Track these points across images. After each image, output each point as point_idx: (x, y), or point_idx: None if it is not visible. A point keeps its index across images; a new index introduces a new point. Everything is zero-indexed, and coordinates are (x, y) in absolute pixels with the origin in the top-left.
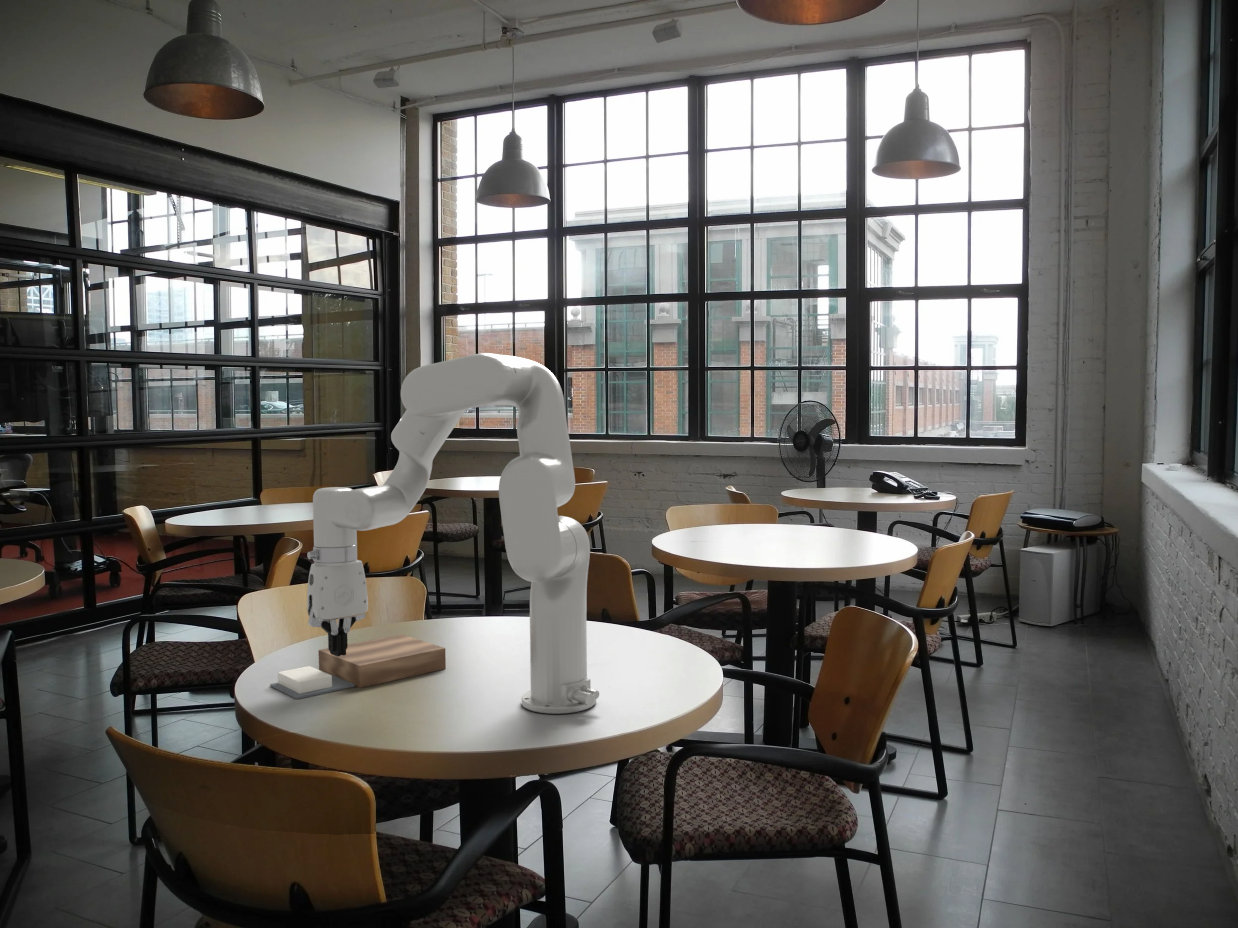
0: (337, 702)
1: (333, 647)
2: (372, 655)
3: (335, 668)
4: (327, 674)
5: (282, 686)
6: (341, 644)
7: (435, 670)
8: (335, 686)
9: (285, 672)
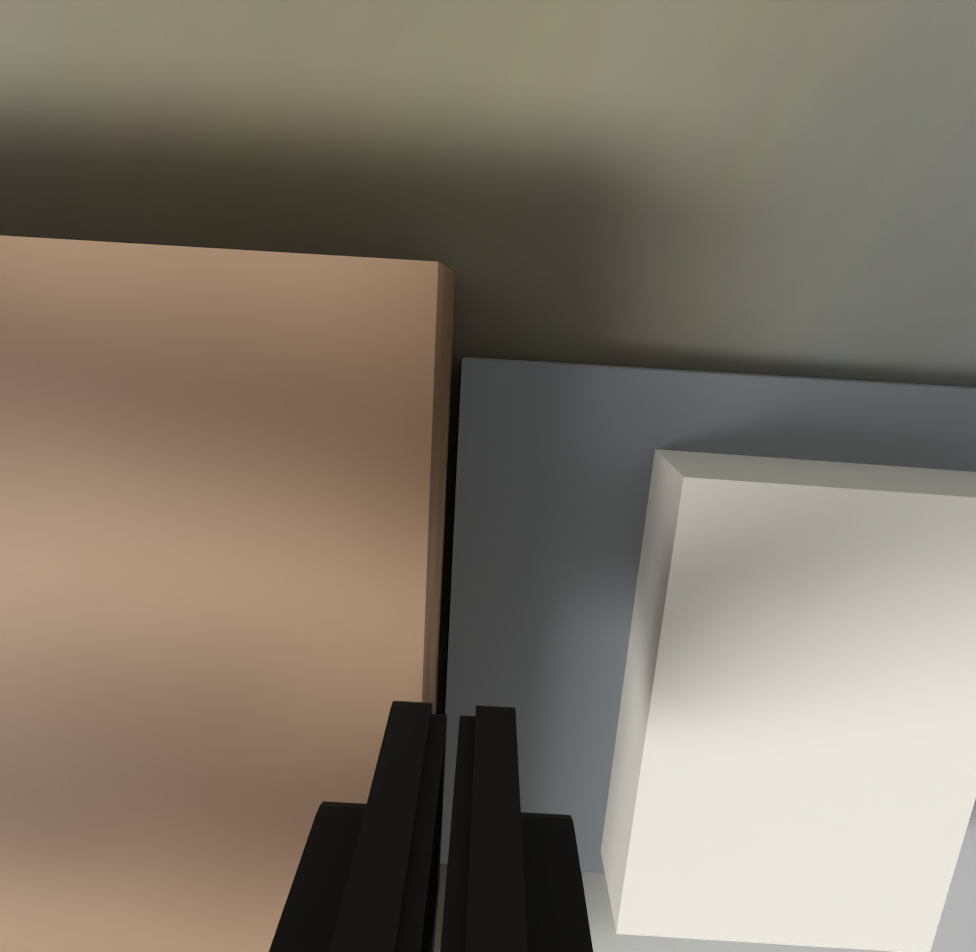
0: (862, 15)
1: (558, 846)
2: (50, 601)
3: None
4: (685, 552)
5: None
6: (434, 833)
7: None
8: (627, 432)
9: (895, 899)
